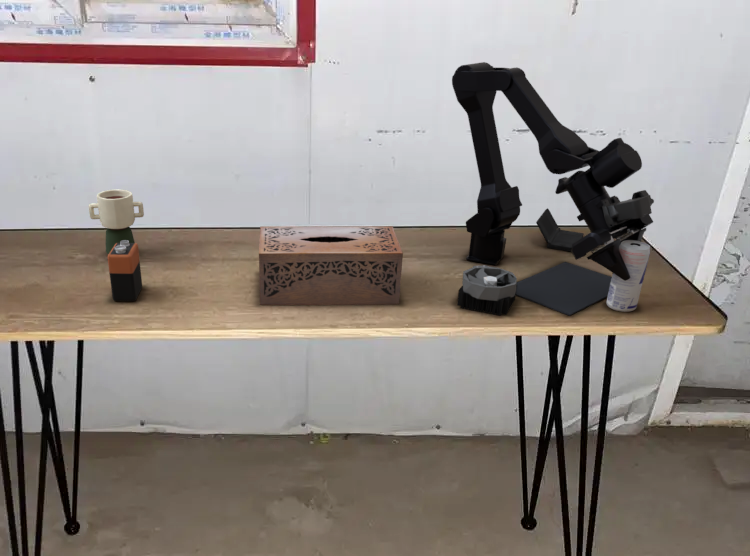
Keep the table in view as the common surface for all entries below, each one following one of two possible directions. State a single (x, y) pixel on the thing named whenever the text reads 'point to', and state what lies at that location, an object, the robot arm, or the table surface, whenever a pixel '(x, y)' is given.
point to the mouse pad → (565, 288)
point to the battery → (125, 271)
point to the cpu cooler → (487, 290)
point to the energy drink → (628, 292)
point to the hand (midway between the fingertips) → (635, 275)
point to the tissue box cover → (329, 265)
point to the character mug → (116, 215)
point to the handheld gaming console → (556, 233)
